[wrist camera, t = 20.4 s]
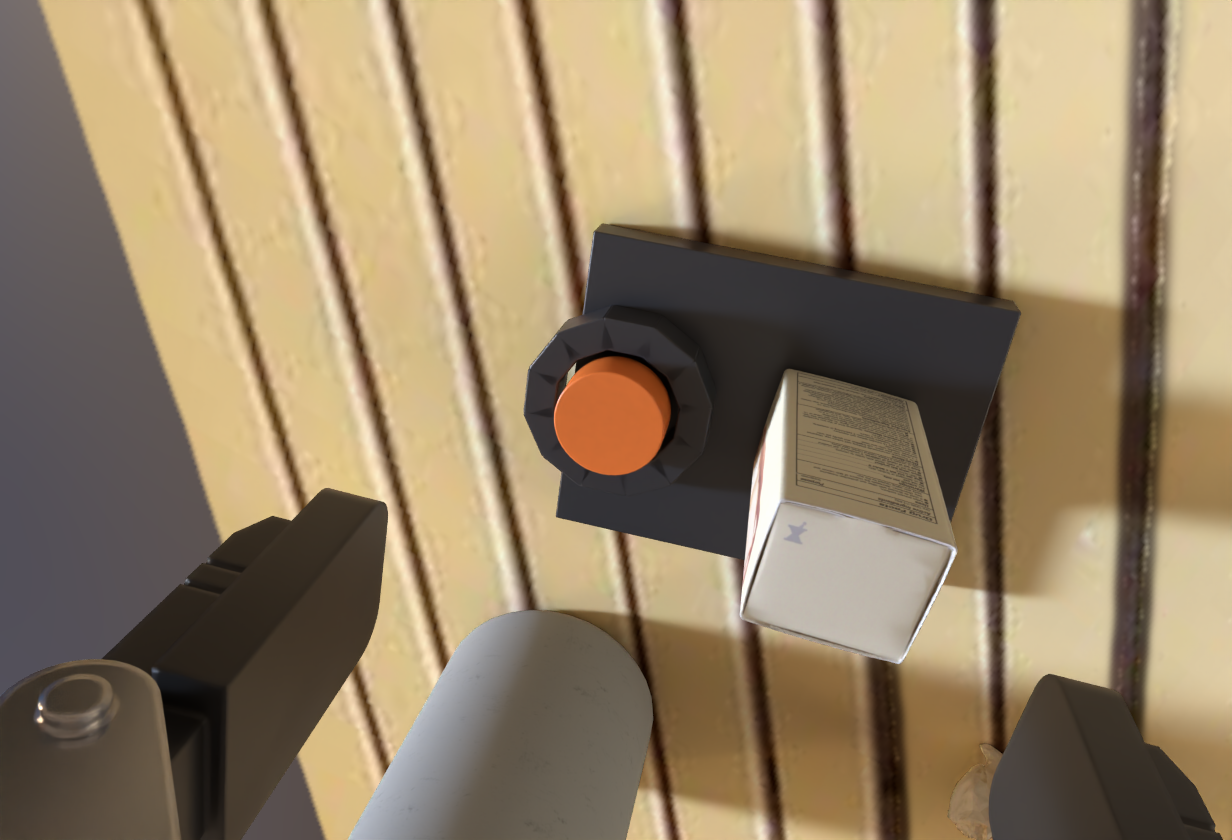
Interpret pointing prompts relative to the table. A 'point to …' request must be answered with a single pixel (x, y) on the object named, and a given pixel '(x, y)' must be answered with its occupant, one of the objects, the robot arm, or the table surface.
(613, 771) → the water bottle
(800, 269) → the black button panel
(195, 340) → the table surface
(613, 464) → the button
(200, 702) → the robot arm
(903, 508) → the white medicine box
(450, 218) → the table surface
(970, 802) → the beige figurine
